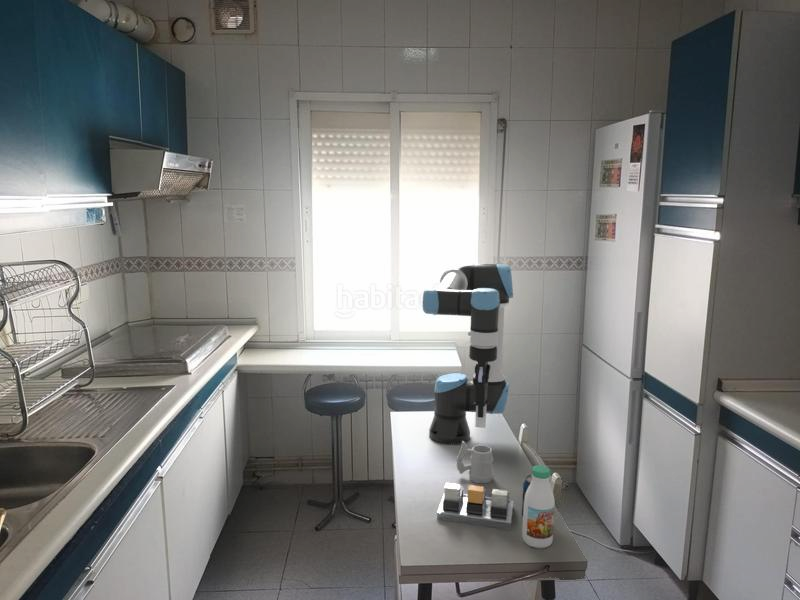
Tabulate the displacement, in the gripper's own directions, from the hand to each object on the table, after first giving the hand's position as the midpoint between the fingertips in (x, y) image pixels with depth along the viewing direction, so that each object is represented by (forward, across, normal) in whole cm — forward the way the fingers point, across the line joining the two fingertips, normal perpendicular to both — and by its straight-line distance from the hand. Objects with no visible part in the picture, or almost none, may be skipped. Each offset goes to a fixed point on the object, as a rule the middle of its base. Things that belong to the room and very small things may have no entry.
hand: (480, 426), depth 163 cm
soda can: (+24, +3, +16) cm, 29 cm away
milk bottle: (+24, +13, +17) cm, 33 cm away
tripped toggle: (+19, +7, 0) cm, 20 cm away
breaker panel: (+24, +4, 0) cm, 25 cm away
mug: (+25, -17, -3) cm, 30 cm away
